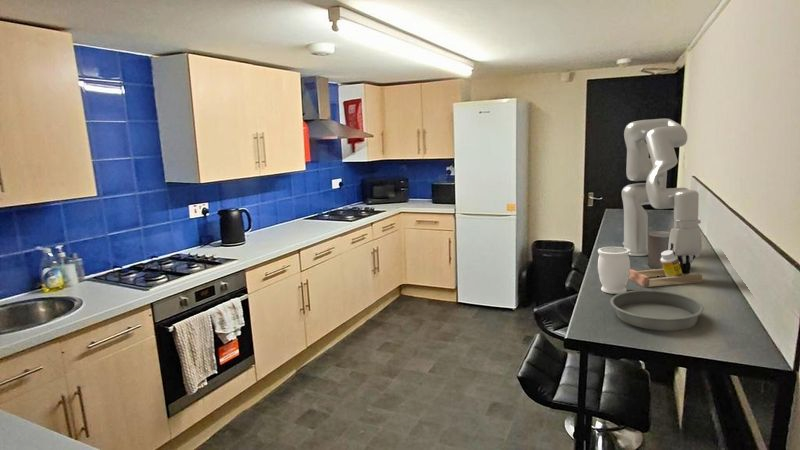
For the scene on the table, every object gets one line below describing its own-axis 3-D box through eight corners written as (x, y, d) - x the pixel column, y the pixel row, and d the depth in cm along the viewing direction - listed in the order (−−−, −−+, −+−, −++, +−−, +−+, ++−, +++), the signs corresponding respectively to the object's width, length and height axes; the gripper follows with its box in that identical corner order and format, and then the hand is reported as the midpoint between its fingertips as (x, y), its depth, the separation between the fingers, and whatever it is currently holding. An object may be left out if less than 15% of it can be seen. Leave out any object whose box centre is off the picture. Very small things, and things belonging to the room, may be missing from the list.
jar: (605, 284, 171) (604, 245, 169) (634, 288, 164) (634, 248, 161) (593, 292, 164) (592, 251, 162) (623, 297, 157) (623, 254, 154)
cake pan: (618, 299, 157) (618, 286, 156) (705, 309, 142) (705, 295, 142) (602, 325, 137) (602, 310, 136) (701, 339, 123) (701, 323, 122)
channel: (627, 278, 176) (627, 269, 175) (681, 273, 177) (681, 264, 176) (644, 287, 165) (645, 277, 164) (702, 281, 165) (702, 272, 165)
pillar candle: (642, 265, 190) (642, 230, 187) (661, 261, 193) (662, 226, 190) (661, 271, 181) (662, 234, 178) (681, 267, 183) (682, 230, 181)
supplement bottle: (679, 281, 167) (671, 256, 164) (663, 280, 171) (655, 256, 169) (686, 273, 169) (678, 249, 167) (670, 272, 174) (662, 248, 172)
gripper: (698, 220, 171) (697, 268, 174) (659, 224, 170) (659, 272, 173) (713, 223, 164) (711, 273, 166) (672, 227, 163) (672, 277, 166)
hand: (685, 272), depth 170 cm, fingers closed
